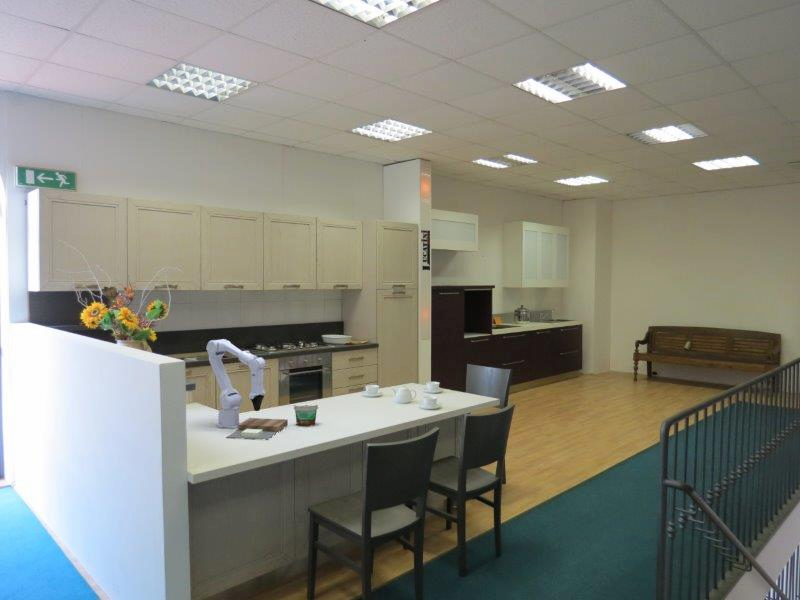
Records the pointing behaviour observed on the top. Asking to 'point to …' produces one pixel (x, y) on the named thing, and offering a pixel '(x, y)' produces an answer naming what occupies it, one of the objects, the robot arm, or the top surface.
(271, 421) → the board
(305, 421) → the food container
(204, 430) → the top surface
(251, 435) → the tile
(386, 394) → the top surface
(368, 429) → the top surface
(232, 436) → the mat
